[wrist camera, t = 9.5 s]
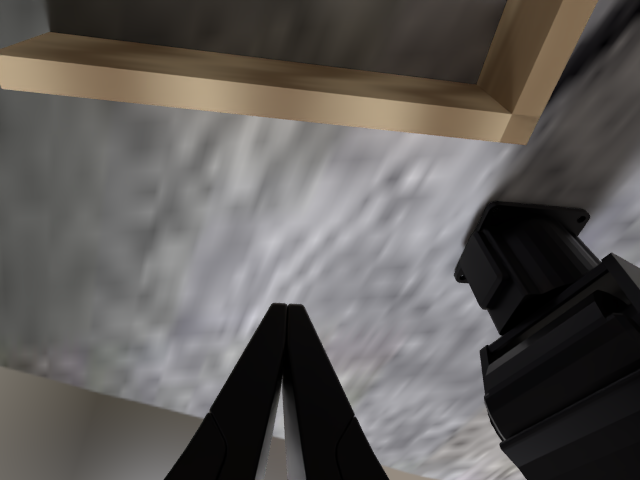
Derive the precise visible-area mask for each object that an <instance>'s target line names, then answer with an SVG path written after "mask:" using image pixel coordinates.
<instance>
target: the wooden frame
mask: <svg viewBox="0 0 640 480" xmlns="http://www.w3.org/2000/svg"><path fill="white" fill-rule="evenodd" d="M597 2H598V0H507V3H506V5H505V8H504V11H503V13H502V16H501V19H500V22H499V24H498V27H497V30H496V32H495V35H494V38H493V41H492V43H491V46H490V49H489V51H488V54H487V57H486V60H485V62H484V65H483V68H482V70H481V73H480V76H479V78H478V81H477V84H468V83H460V82H452V81H444V80H436V79H428V78H420V77H411V76H403V75H395V74H387V73H379V72H371V71H363V70H355V69H346V68H338V67H330V66H322V65H314V64H306V63H298V62H289V61H281V60H273V59H265V58H257V57H249V56H241V55H233V54H224V53H216V52H208V51H200V50H192V49H184V48H176V47H168V46H159V45H151V44H143V43H135V42H127V41H119V40H111V39H102V38H94V37H86V36H78V35H70V34H62V33H54V32H48V33H45V34H42V35H39V36H37V37H34V38H31V39H28V40H25V41H22V42H19V43H17V44H14V45H11V46H8V47H5V48H2V49H0V85H1V88H2V89H8V90H18V91H27V92H36V93H46V94H55V95H64V96H74V97H83V98H92V99H101V100H111V101H120V102H129V103H139V104H148V105H157V106H167V107H176V108H185V109H195V110H204V111H213V112H223V113H232V114H241V115H250V116H260V117H269V118H278V119H288V120H297V121H306V122H316V123H325V124H334V125H344V126H353V127H362V128H372V129H381V130H390V131H400V132H409V133H418V134H427V135H437V136H446V137H455V138H465V139H474V140H483V141H493V142H502V143H511V144H521V145H526V144H527V142H528V140H529V138H530V136H531V134H532V132H533V130H534V128H535V126H536V124H537V122H538V120H539V118H540V116H541V114H542V112H543V110H544V108H545V106H546V104H547V102H548V100H549V98H550V96H551V94H552V92H553V90H554V88H555V86H556V84H557V82H558V80H559V78H560V76H561V74H562V72H563V70H564V68H565V66H566V64H567V62H568V60H569V58H570V56H571V54H572V52H573V50H574V48H575V46H576V44H577V42H578V40H579V38H580V36H581V34H582V32H583V30H584V28H585V26H586V24H587V22H588V20H589V18H590V16H591V14H592V12H593V10H594V8H595V6H596V4H597Z"/></svg>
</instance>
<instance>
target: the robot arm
mask: <svg viewBox="0 0 640 480" xmlns="http://www.w3.org/2000/svg"><path fill="white" fill-rule="evenodd" d="M497 208H498V209H497ZM494 209H497V210H496V211H494V212H492V211H493V210H494ZM579 217H580V218H579ZM589 219H590V215H589V213H587V212H586V211H585V210H584V209H577V208H566V207H555V206H544V205H533V204H521V203H510V202H499V201H495V202H491V203H490V204H488V205H487V207H486V208H485V210H484V213H483V215H482V217H481V219H480V221H479V223H478V225H477V227H476V229H475V231H474V233H473V234H472V235H471V237H470V239H469V241H468V243H467V245H466V247H465V250H464V252H463V254H462V256H461V258H460V260H459V265H458V267H457V269H456V271H455V273H454V277H455V279H456V281H457V282H459V283H469V285H470V287H471V289H472V291H473V293H474V295H475V297H476V299H477V302H478V304H479V306H480V307H481V308H482V309H484V310H488V312H489V314H490V316H491V318H492V320H493V322H494V324H495V326H496V328H497V330H498V332H499V334H500V335H501V337H500V338H498V339H497V340H496V341H494V342H493V343H492V344H490V345H486V346H485V347H484V348H482V349H481V350H480V358H481V366H482V374H483V382H484V390H485V396H484V402H485V405H486V408H487V411H488V416H489V418H490V422H491V424H492V426H493V427H494V429H495V431H496V433H497V435H498V436H499V438H500V439H501V440H502V442H501V443H500V448H501V450H502V451H503V452H504V453H505V454H506V455H507V456H508V457H509V458H510V460H511V461H512V462H513V463H514V464H515V465H516V466H517V467H518V468H519V470H520V471H521V472H522V474H523V475H524V477H525V478H526V479H527V480H640V268H638V267H637V266H635V265H633V264H631V263H630V262H628V261H626V260H624V259H622V258H621V257H619V256H617V255H615V254H613V253H610V254H609V255H607V256H606V257H604V258H603V259H602V260H601V261H602V262H601V261H600V260H599V259H598V258H597V257H596V256H595V255H594V254H593V253H592V252H591V251H590V249H589V248H588V247H587V246H586V245H585V244H584V243H583V242H582V241H581V240H580V239H579V238H578V237H577V236H578V235H579V233H580V232H581V230H582V229H583V228H584V226H585V225H586V223H587V222H588V221H589ZM462 275H463V276H462ZM281 384H282V395H283V412H284V429H285V445H286V463H287V480H389V478H388V477H387V475H386V473H385V471H384V470H383V468H382V466H381V464H380V463H379V461H378V459H377V458H376V456H375V454H374V452H373V450H372V448H371V446H370V444H369V442H368V440H367V439H366V437H365V435H364V433H363V431H362V428H361V426H360V424H359V422H358V420H357V418H356V417H354V415H355V414H354V412H353V410H352V407H351V405H350V403H349V401H348V399H347V397H346V395H345V392H344V390H343V388H342V386H341V384H340V382H339V380H338V377H337V375H336V373H335V371H334V369H333V367H332V365H331V363H330V360H329V358H328V356H327V354H326V352H325V350H324V348H323V345H322V343H321V341H320V339H319V337H318V335H317V333H316V330H315V328H314V326H313V324H312V322H311V320H310V318H309V316H308V313H307V311H306V309H305V307H304V306H303V305H302V304H289V305H288V306H287V304H285V303H272V304H271V306H270V307H269V309H268V311H267V313H266V314H265V316H264V318H263V319H262V321H261V323H260V325H259V326H258V328H257V330H256V331H255V333H254V335H253V336H252V338H251V340H250V342H249V343H248V345H247V347H246V348H245V350H244V352H243V354H242V355H241V357H240V359H239V360H238V362H237V364H236V365H235V367H234V369H233V371H232V372H231V374H230V376H229V377H228V379H227V381H226V383H225V384H224V386H223V388H222V389H221V391H220V393H219V395H218V396H217V398H216V400H215V401H214V403H213V405H212V406H211V408H210V412H209V413H207V415H206V416H205V418H204V420H203V422H202V423H201V425H200V427H199V428H198V430H197V432H196V433H195V435H194V436H193V438H192V439H191V441H190V443H189V444H188V446H187V447H186V449H185V450H184V452H183V454H182V455H181V456H180V458H179V459H178V460H177V462H176V463H175V465H174V466H173V468H172V469H171V471H170V472H169V473H168V474H167V476H166V477H165V479H164V480H264V477H265V471H266V465H267V460H268V455H269V450H270V445H271V439H272V434H273V428H274V423H275V418H276V412H277V407H278V402H279V396H280V391H281Z"/></svg>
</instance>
